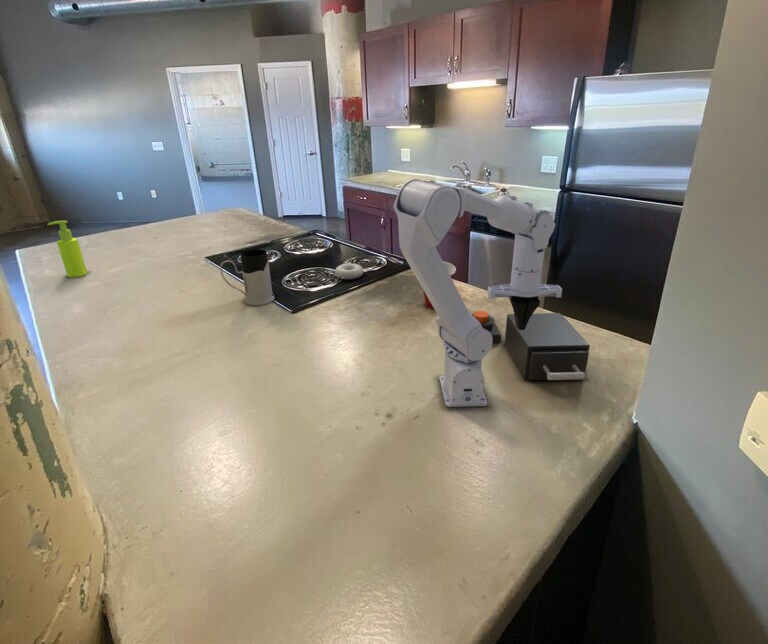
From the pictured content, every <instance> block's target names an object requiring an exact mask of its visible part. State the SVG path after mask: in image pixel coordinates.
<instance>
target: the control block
mask: <svg viewBox="0 0 768 644" xmlns="http://www.w3.org/2000/svg"><path fill="white" fill-rule="evenodd" d="M471 314H472V315H473V316H474V313H471ZM480 324H481V325H482V327H483V328H484V329H485V330H487V331H489V332H490V333H491V335H492V338H493V342H492V344H496V343H502V334H501V333H502V332H501V331H500V330H499V328H498V326H497V324H496V322H495V319H494V317H493V316H492V315H490V314H488V322H486V323H480Z"/></svg>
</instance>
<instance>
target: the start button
mask: <svg viewBox="0 0 768 644" xmlns="http://www.w3.org/2000/svg"><path fill="white" fill-rule="evenodd" d="M473 314H474V317H475V318H476V319H477V320H478V321H479V322H480V323H486V322H488V315H489V312H487V311H484V310H475V311H474V312H473Z"/></svg>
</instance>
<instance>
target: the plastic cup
mask: <svg viewBox="0 0 768 644" xmlns="http://www.w3.org/2000/svg"><path fill="white" fill-rule="evenodd" d="M442 261H443V263H444V265H445V267H446V269H447V271H448V273H449V275H450V276H451V278H452V279H453V277H454V275H455V274H456V271H457V268H456V266H455V265H454V264H452V263H450V262H447V261H444V260H442ZM422 292H423V297H424V302H425V306H426V307H428V308H430V309H434V307H433V306H432V304H431V302H430V301H429V299H428V297H427V295H426V294H425V292H424V290H423V289H422Z"/></svg>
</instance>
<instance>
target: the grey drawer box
mask: <svg viewBox="0 0 768 644" xmlns="http://www.w3.org/2000/svg"><path fill="white" fill-rule="evenodd" d="M504 335H505V336H504V346H505V348H506V350H507V352H508V353H509V355H510V357H511V358H512V359H511V360H512V361H513V362H514V364H515V366H516V367H517V369H518V372H519V373H520V375H521V377H522V378H523V380H524V381H530V380H529V378H528V369H529V361H530V353H531V350H540V349H587V350H588V352H589V353H590V346H591V345H590V344H589V342H588V341H586V339H585V338H584V337H583V336H582V335H581V333H579V331H578V330H576V329H575V327H574V326H573V325H572V323H570V322H569V320H568V319H566V317H565V316H564V315H563V314H562V313H561V312H549V313H548V312H545V313H544V312H543V313H533V314H532V315H531V317H530V319H529V321H528V323H527V325H526V328H525V330H518V328H517V327H516V321H515V315H514V313H508V314H507V315H506V324H505V334H504ZM540 380H541V381H542V380H544V379H539V380H538V381H540Z"/></svg>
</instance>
